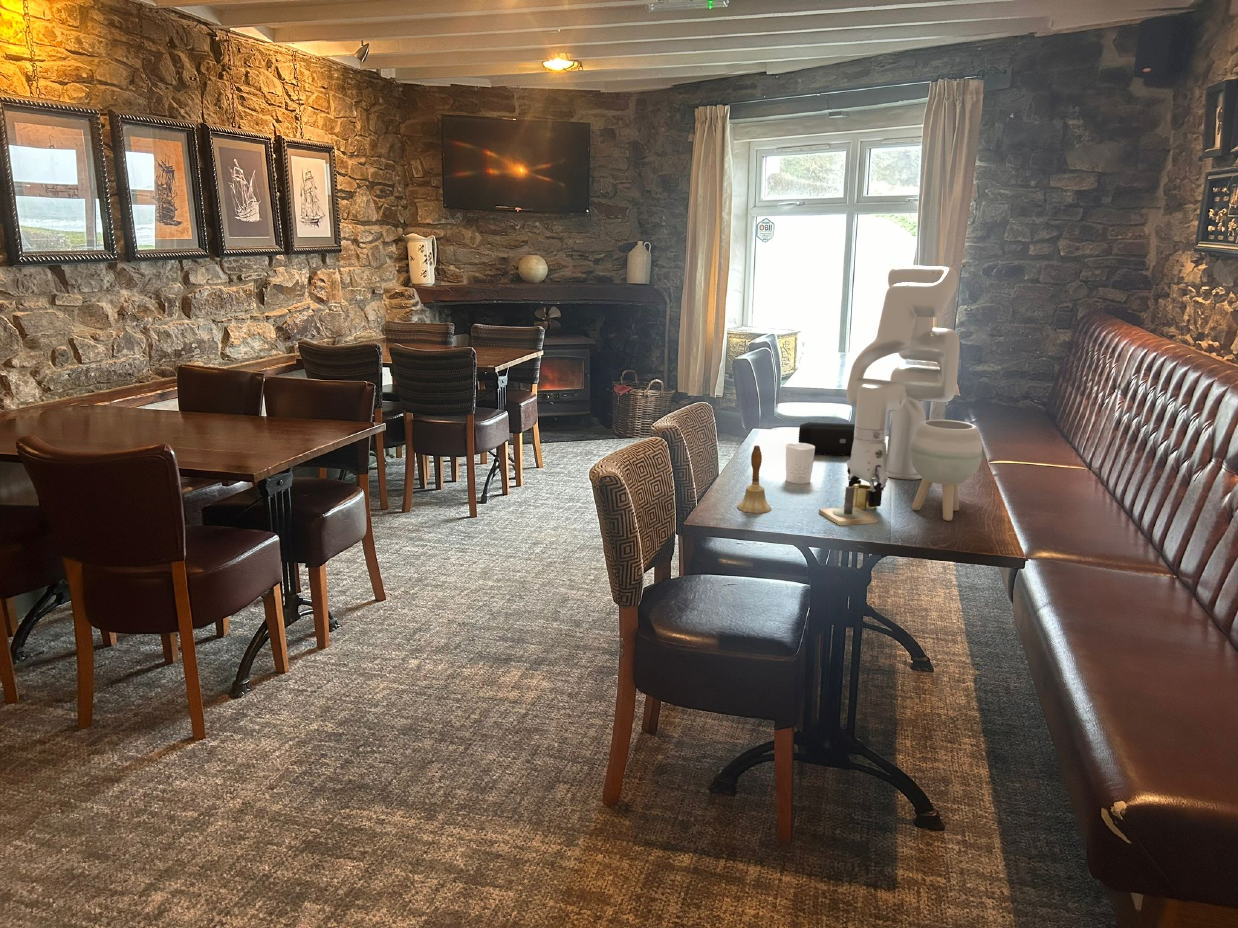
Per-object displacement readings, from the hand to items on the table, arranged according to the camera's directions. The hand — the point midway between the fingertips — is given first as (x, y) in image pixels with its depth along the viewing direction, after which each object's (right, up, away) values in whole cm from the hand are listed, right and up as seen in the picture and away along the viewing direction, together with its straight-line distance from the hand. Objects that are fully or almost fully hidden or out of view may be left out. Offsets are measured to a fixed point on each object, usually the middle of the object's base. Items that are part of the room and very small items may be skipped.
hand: (863, 500), depth 214 cm
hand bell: (-28, -2, -3) cm, 28 cm away
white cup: (-12, +4, +23) cm, 27 cm away
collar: (0, -1, 0) cm, 1 cm away
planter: (+17, -3, -5) cm, 18 cm away
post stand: (-7, -4, -9) cm, 12 cm away
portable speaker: (+8, +12, +56) cm, 58 cm away
